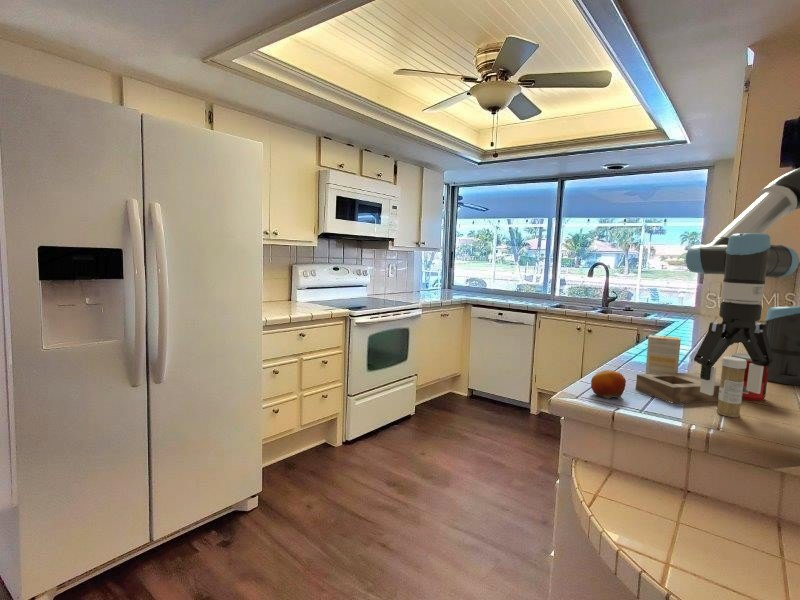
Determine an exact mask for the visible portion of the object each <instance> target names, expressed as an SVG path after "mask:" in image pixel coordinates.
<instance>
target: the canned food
mask: <svg viewBox="0 0 800 600" xmlns="http://www.w3.org/2000/svg"><path fill="white" fill-rule="evenodd" d="M731 357H736V358H741V359H745V360H746V361H747V365H746V368H745V374H744V385H743V393H742V400H747V401H752V402H753V401H755V402H761V401H764V400H765V398H766V396H767V395H766V393H767V386H768V372H769V367H767V366H765V367H764V374H763V378H762V383H761V391H760V394H757V393H754V392H750V391H747V390H746V388H747V380H748V372H749V364H755V363H753V361H752V360H751V358H750V356H749V354H748V353H741V352H740V353H739V352H738V353H737V352H735V353H732V354H731Z"/></svg>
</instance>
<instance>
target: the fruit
mask: <svg viewBox="0 0 800 600" xmlns="http://www.w3.org/2000/svg"><path fill="white" fill-rule="evenodd" d="M626 382H627V380H626V378H625V377H624V375H623V374H622V373H620V372H619V371H615V370H610V369H609V370H608V369H607V370H603V371H599V372H597V373H595V374H594V375H593V376H592V378H591V380H590V383H591V385H590V388H591V389H592V392H593V393H594V394H595V395H596V396H597V397H599V398H605V399H608V400H610V399H611V398H620V399H621V400H622V401H624V398H623V397H622V395H623V393H624V392H625V389H626Z"/></svg>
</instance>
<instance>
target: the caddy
mask: <svg viewBox="0 0 800 600" xmlns="http://www.w3.org/2000/svg"><path fill="white" fill-rule="evenodd" d="M700 375H701V373H699V372H678V373H666V374H645V373H644V374H643V373H642V374H641V373H640V374H637V373H636V380H635V381H636V382H635V390H638V391H640V392H644V393H646V394H648V395H650V394H651V396H653V395H654V396H653V397H655V396H656V397H655V398H658V397H659V398H658V399H660V398H662V399H661V400H663V399H664V400H663V401H665V400H667V401H666V402H668V401H670V402H681V403H682V402H683V403H698V402H697V401H703V402H718V396H719V388H720V380H721V379H718V378H716V377H715V385H714V393H713V395H711V396H710V395H708V394H705V393H702V392H700V387H701V377H700ZM670 402H669V403H670Z"/></svg>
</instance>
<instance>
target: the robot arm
mask: <svg viewBox="0 0 800 600" xmlns="http://www.w3.org/2000/svg"><path fill="white" fill-rule="evenodd" d="M755 199H756V200H754V201H753V202H752V204H750V205H749V206H748V207H747V208H746V209H745V210H743V212H741V213H740V214H739V215H738V216H737V217H736V218H735V219H733V221H732V222H730V223H729V224H728V225H727V226H726V227H724V229H722V231H720V232H719V233H717V235H716V236H715V237H713V239H712V240H710V241H709V242H708V243H707V244H702V243H701V244H697V245H693V246H690V247H689V249H688V250H687V252H686V255H685V265H686V268H687V270H688V271H690V272H691V273H694V274H695V273H697V274H702V275H703V274H704V275H707V274H708V275H723V282H722V288H721V293H720V298H721V299H722V300H723V301H721V302H720V305H719V317H720V318H722V321H721V322H716V321H715V322H714V321H711V322H710V323H709V326H708V329H707V330H708V331H707V333H706V335H705V336H704V339H703V340H702V343H701V344H700V346H699V348H698V350H697V352H696V354H695V356H694V358H693V361H694V362H696V363H697V364H699V365H700V374H701V375H700V377H701V387H700V392H702V393H705V394H708V395H710V396H711V395H713V393H714V385H715V378H716V375H717V367H716V366H714V365H715V364H716V363H717V362H718V361H719V359H720V358H721V357H722V355H723V354H724V353H725V351H727V349H728V348H729V347H730V346H733V345H734V344H740V343H741V344H742V346H743V347H744V349H745V350H746V352H747V354H749V356H750V358H751V360H752V361H753V363H755V364H749V372H748V380H747V388H746V390H747V391H750V392H754V393H757V394H760V391H761V383H762V378H763V374H764V367H765V366H767V367H769V372H768V380H767V382H768V381H769V382H774V383H778V384H783V385H784V384H785V385H791V386H800V306H796V305H795V306H772V307H770V308H769V309H767V313H766V317H765V319H764V323H761V322H759V321H760V320H761V317H762V311H763V309H762V308H763V306H762V305H761V302H763V300H764V290H765V284H766V278H776V279H777V278H783V277H787V276H790V275H791V274H793V273H794V272H795V271H796V270H797V268H798V267H799V264H800V256H799V254H798V253H797V251H795V250H794V248H791V247H789V246H786V245H783V244H771V236H770V235H769V234H767V233H766V232H767V231H768V230H769V229H770V228H771V227H772V226H773V225H774V224H775V223H777V221H779V220H780V219H781V218H782V217H785V216H788V215H789V214H792V213H793V212H794V211H795V210H800V167H798V168H795V169H793V170H791V171H788V172H786V173H785V174H782V175H781V176H779V177H778V178H776V179H775V180H773V181H771V182H770V183H768V184H767V185H766V186H765V187H764V188H762V189H761V190H760V191H759V192H758V193H757V195H756V198H755Z"/></svg>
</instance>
